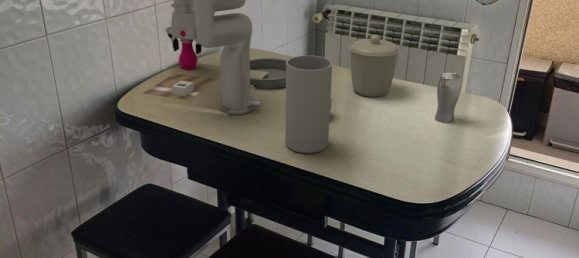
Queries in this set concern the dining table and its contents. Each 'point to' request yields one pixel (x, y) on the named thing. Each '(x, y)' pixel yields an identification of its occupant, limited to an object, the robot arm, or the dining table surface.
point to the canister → (373, 65)
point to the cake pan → (275, 69)
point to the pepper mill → (187, 54)
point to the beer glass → (447, 96)
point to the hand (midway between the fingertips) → (187, 51)
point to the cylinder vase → (308, 103)
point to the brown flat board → (166, 85)
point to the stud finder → (183, 88)
